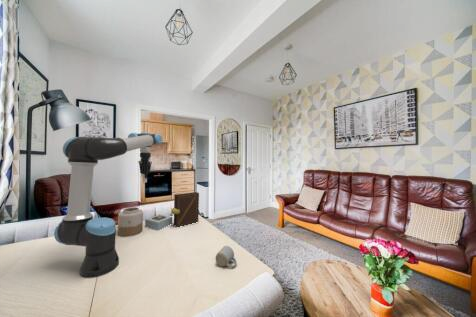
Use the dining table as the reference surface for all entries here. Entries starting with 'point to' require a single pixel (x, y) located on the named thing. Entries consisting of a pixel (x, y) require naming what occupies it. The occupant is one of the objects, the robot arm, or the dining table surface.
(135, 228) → the vase
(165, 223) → the socket block
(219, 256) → the ceramic mug
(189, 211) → the book
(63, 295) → the dining table surface
